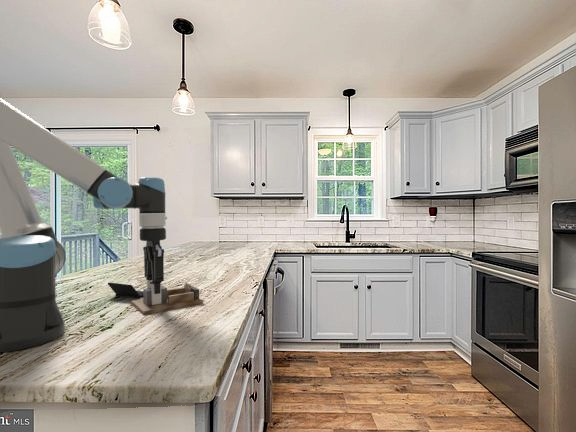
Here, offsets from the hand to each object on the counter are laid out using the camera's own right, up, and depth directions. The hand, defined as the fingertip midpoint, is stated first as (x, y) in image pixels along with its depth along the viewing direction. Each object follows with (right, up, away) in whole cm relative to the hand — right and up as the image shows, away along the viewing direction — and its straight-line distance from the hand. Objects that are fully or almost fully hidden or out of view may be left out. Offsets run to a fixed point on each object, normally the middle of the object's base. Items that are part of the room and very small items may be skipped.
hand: (154, 302), depth 98 cm
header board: (+3, -1, +3) cm, 4 cm away
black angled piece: (-14, -2, +12) cm, 18 cm away
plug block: (0, 0, 0) cm, 0 cm away
